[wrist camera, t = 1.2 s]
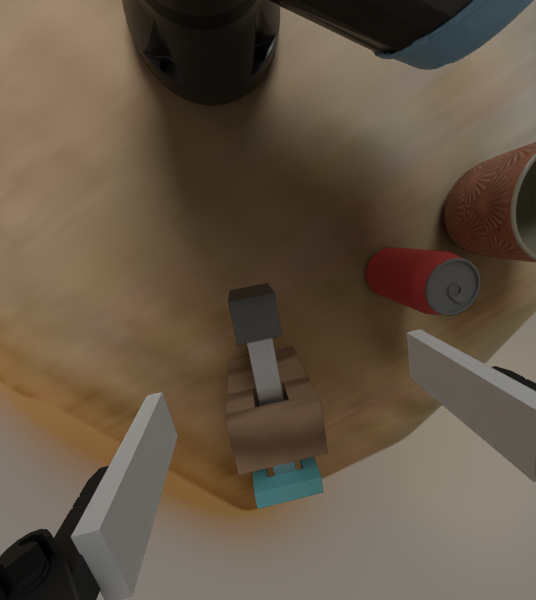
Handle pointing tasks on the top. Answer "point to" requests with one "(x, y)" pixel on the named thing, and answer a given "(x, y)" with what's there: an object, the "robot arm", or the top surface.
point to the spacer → (287, 484)
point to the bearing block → (273, 416)
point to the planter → (496, 207)
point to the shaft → (260, 342)
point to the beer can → (424, 279)
